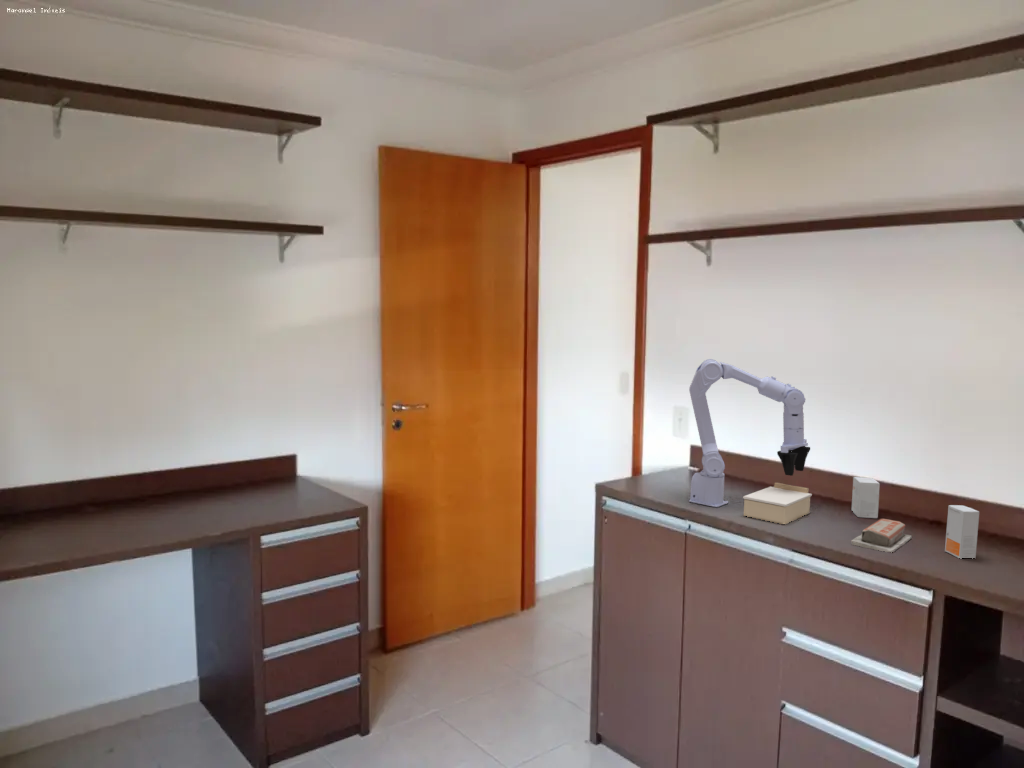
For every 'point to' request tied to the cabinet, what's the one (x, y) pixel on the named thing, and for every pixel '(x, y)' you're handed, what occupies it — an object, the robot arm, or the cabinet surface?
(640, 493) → the cabinet surface
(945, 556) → the cabinet surface
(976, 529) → the skincare box
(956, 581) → the cabinet surface
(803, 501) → the box
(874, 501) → the small box
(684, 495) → the cabinet surface
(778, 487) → the lid
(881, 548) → the packaged product
